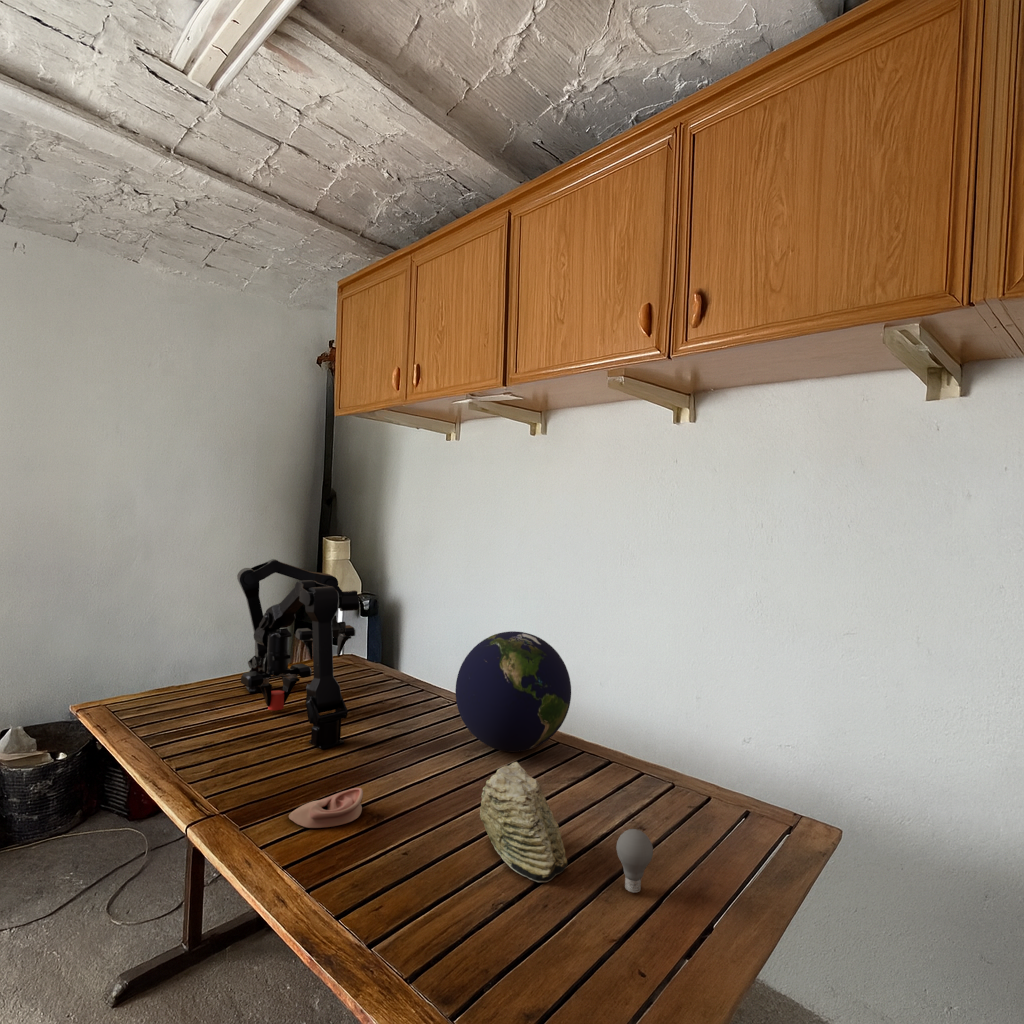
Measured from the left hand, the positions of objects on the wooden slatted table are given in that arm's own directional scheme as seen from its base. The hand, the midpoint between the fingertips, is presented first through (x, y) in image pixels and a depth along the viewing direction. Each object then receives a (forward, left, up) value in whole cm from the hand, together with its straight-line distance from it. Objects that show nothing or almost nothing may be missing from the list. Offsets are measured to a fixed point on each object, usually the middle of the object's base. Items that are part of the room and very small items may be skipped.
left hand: (325, 657), depth 214 cm
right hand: (+24, -21, -6) cm, 32 cm away
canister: (+24, -21, -7) cm, 32 cm away
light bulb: (+136, +11, -8) cm, 137 cm away
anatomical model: (+88, -25, -8) cm, 92 cm away
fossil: (+119, +1, -8) cm, 119 cm away
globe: (+76, +26, -8) cm, 81 cm away
